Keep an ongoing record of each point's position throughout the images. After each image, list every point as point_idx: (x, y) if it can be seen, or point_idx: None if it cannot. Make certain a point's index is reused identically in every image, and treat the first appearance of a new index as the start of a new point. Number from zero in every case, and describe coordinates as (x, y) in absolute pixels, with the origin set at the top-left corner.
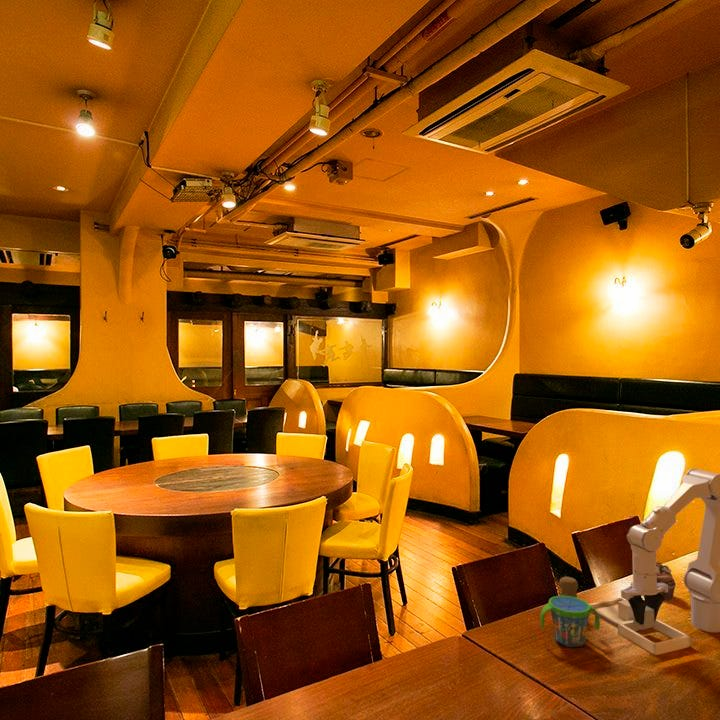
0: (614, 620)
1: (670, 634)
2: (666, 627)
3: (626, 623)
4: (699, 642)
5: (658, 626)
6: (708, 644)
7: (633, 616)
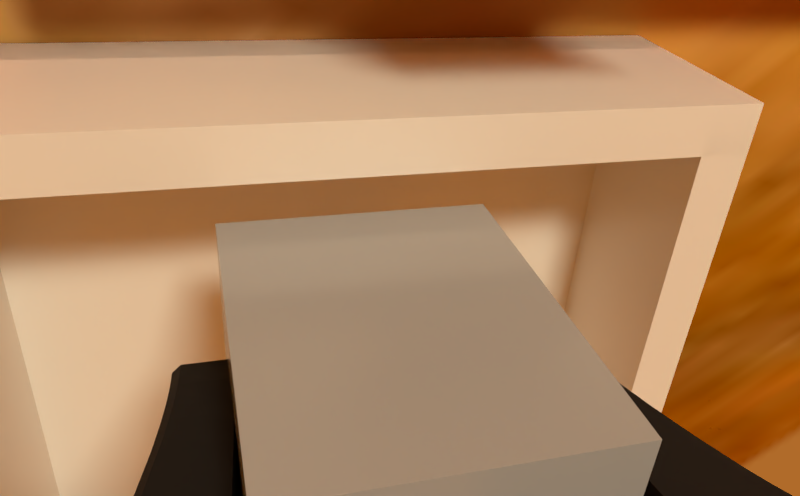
0: None
1: None
2: (619, 379)
3: (45, 195)
4: (742, 393)
5: (625, 237)
6: (763, 428)
7: (225, 309)
